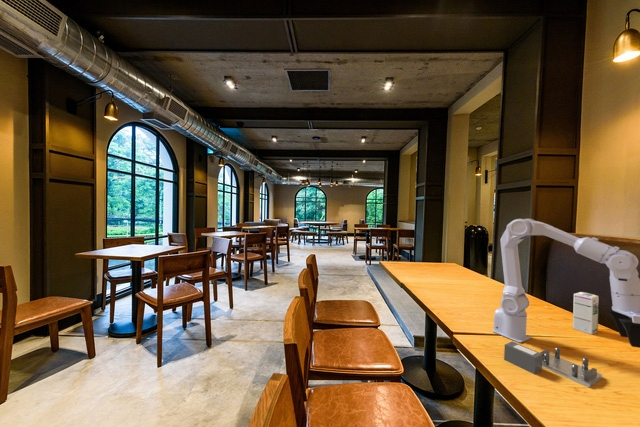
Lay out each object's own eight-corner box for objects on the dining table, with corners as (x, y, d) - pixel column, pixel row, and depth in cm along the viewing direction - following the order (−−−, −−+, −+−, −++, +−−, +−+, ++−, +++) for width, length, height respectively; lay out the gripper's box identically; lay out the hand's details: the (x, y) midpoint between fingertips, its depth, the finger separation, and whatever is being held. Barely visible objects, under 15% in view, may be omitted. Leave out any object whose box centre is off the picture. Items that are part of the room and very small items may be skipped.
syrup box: (592, 335, 100) (593, 297, 99) (571, 328, 105) (573, 292, 105) (598, 332, 102) (599, 295, 102) (577, 325, 108) (579, 291, 107)
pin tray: (531, 361, 81) (532, 349, 81) (545, 354, 85) (546, 342, 85) (589, 387, 70) (590, 373, 70) (602, 378, 74) (602, 364, 74)
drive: (504, 360, 82) (504, 344, 82) (511, 356, 84) (512, 341, 84) (534, 374, 75) (535, 357, 75) (541, 370, 77) (542, 353, 77)
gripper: (659, 301, 67) (666, 355, 66) (636, 289, 79) (641, 335, 78) (619, 298, 71) (625, 349, 70) (602, 287, 83) (607, 331, 82)
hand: (631, 341), depth 74 cm, fingers open, 7 cm apart
